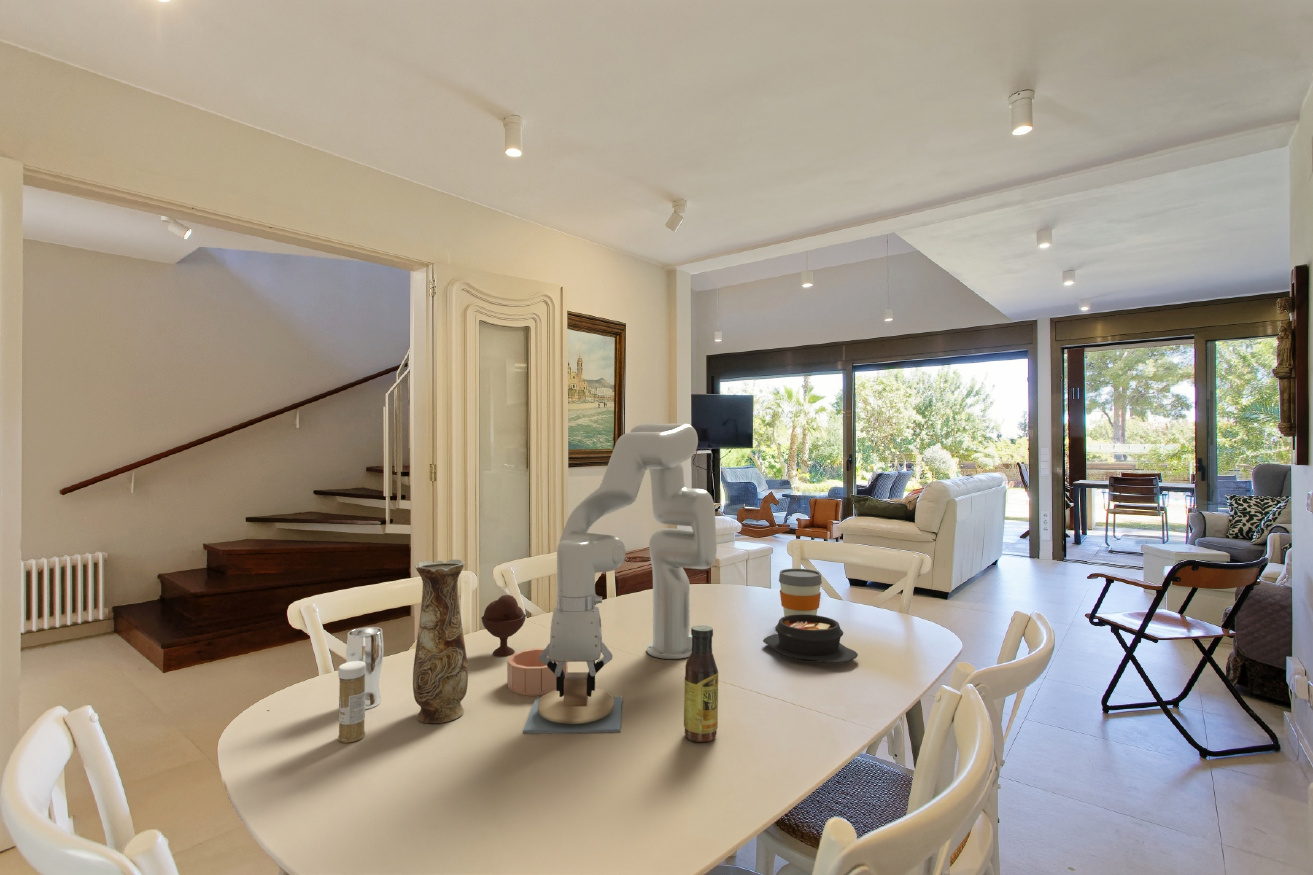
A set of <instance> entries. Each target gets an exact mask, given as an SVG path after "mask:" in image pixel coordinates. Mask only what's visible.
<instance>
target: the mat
mask: <svg viewBox="0 0 1313 875" xmlns="http://www.w3.org/2000/svg"><path fill="white" fill-rule="evenodd" d="M612 697H613V699H614V708H613V710H612V712H611V713H610V714H608V715H607V716H605V717H603V718H601V719H598V720H595V721H592V722H587V723H579V724H564V723H557V722H553V721H549V720H547V719H545V718H543V717H542V716H541V715H540V714H539V713H538V701H539V699H540V698H541V697H536V698H535V700H534V702H533V705H532V706H531V707H532V708H531V709H530V712H529V715H528V717H527V720H526V722H525V726H524V727H523V731H522V733H523V734H550V733H551V734H556V733H557V734H559V733H561V734H563V733H567V734H568V733H571V734H572V733H575V734H576V733H621V723H622V722H621V720H622V702H623V696H612Z"/></svg>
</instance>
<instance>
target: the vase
mask: <svg viewBox="0 0 1313 875" xmlns="http://www.w3.org/2000/svg"><path fill="white" fill-rule="evenodd" d="M465 565H466V561H463V560H461V559H448V560H447V561H446V562H445V561H443V560H438V561H436V562H433V561H432V560H425V561H421V562H418V563H417V564H416V565H414V569H415V570H416V572H417V573H418V574H419V576H420V578H421V580H422V591H421V592H422V593H421V603H420V604H421V605H420V613H419V620H418V623H419V624H418V628H417V629H418V631H417V636H416V637H417V638H416V646H415V654H414V660H413V667H412V668H413V669H412V692H413V698H414V701H415V702H416V704H417V705H418V706H419V707H420V710H419V713H418V715H417V717H416V718H417V720H418V721H419V722H422V723H426V724H441V723H445V722H451V721H454V720H457V719H458V718H460V717H461V716H463V715H464V714H465V708H464V707H463V706H462V704H461V703H462V701H463V699H464V698H465V696H466V695H467V690H468V684H469V672H468V671H469V668H468V666H469V665H468V659H467V656H468V655H467V649H466V643H465V642H466V641H465V636H464V629H463V623H462V615H461V614H462V613H461V607H460V598H459V597H460V596H459V587H458V583H459V582H458V581H459V578H460V575H461V573H462V571H463V569H464V567H465Z"/></svg>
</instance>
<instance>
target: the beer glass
mask: <svg viewBox="0 0 1313 875" xmlns="http://www.w3.org/2000/svg"><path fill="white" fill-rule="evenodd" d="M346 640H347V641H346V651H345V652H346V663H347V662H352V661H362V662H365V664H366V673H365V711H366V710H370V709H373V708H375V707H377V706H379V705H380V704H381V702H382V698H381V697H382V696H381V692H380V679H381V673H382V666H383V659H384V637H383V628H381V627H378V626H365V627H358V628H355V629H352V630H350V631H348V632H347V639H346Z"/></svg>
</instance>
